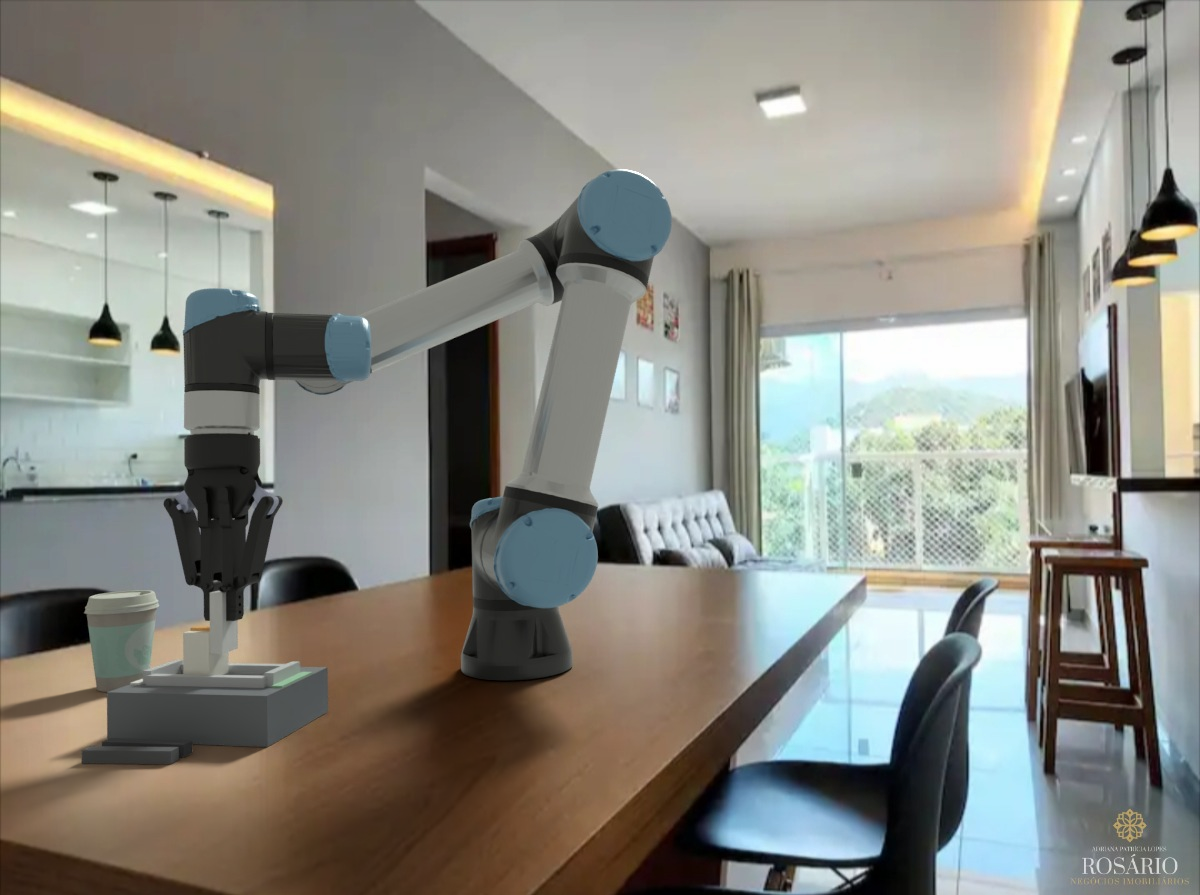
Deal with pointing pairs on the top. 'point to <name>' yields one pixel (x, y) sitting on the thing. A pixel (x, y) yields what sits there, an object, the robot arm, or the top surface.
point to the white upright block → (202, 654)
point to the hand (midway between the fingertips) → (224, 650)
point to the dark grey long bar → (152, 744)
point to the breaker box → (219, 704)
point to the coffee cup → (121, 636)
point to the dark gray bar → (130, 755)
